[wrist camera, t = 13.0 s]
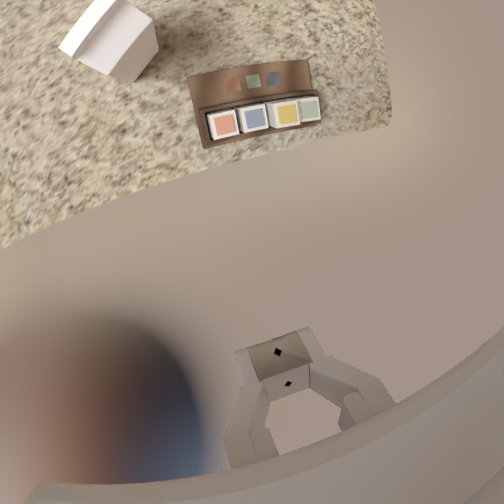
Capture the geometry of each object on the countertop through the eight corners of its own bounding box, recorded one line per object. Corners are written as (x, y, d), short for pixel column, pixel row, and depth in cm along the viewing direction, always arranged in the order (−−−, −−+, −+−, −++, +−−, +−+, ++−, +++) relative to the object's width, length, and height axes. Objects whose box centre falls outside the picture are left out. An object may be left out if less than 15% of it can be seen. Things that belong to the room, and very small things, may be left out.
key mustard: (286, 98, 37) (298, 100, 34) (289, 121, 39) (301, 124, 36) (263, 102, 37) (273, 103, 33) (267, 124, 39) (277, 128, 35)
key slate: (256, 102, 38) (265, 104, 35) (260, 124, 40) (269, 128, 37) (233, 107, 38) (240, 108, 34) (238, 129, 40) (244, 133, 36)
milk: (159, 50, 32) (154, 10, 14) (133, 83, 34) (101, 75, 16) (127, 30, 29) (94, -21, 11) (101, 64, 30) (43, 43, 12)
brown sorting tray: (302, 60, 38) (315, 58, 34) (311, 124, 44) (324, 128, 41) (187, 78, 35) (188, 76, 32) (202, 147, 42) (206, 152, 38)
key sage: (306, 95, 39) (319, 96, 36) (309, 116, 41) (321, 119, 38) (285, 98, 39) (297, 99, 35) (289, 119, 41) (300, 122, 37)
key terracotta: (229, 108, 38) (235, 110, 34) (233, 130, 39) (239, 134, 36) (205, 113, 37) (209, 115, 34) (210, 135, 39) (214, 140, 36)
